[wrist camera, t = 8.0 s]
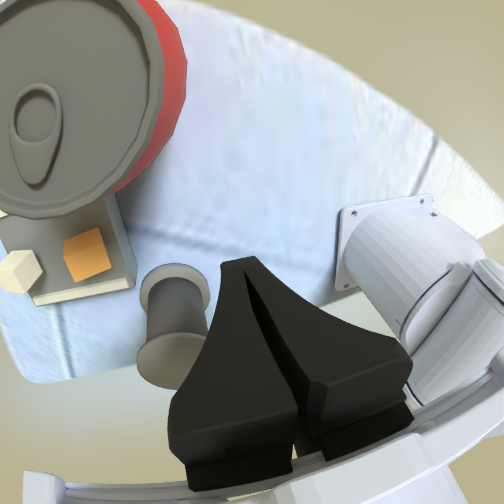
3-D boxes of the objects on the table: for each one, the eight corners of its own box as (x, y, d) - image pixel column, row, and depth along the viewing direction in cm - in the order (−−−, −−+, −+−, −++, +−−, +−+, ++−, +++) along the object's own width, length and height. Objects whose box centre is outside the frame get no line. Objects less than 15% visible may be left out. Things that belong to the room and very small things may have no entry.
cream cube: (32, 249, 14) (12, 270, 12) (42, 271, 15) (25, 293, 13) (11, 250, 14) (-7, 270, 13) (21, 271, 15) (5, 291, 14)
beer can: (65, 135, 15) (-56, 234, 5) (82, 29, 11) (-43, -15, 2) (170, 143, 17) (166, 252, 7) (193, 35, 13) (228, -40, 4)
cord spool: (201, 256, 21) (216, 329, 16) (213, 309, 24) (229, 381, 19) (131, 271, 21) (123, 346, 15) (152, 321, 23) (153, 394, 18)
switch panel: (104, 156, 16) (93, 169, 14) (137, 265, 20) (134, 290, 18) (3, 190, 15) (-16, 208, 12) (45, 285, 19) (35, 309, 17)
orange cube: (98, 226, 15) (101, 241, 14) (106, 250, 16) (111, 267, 15) (63, 241, 14) (63, 257, 13) (73, 264, 15) (75, 282, 14)
